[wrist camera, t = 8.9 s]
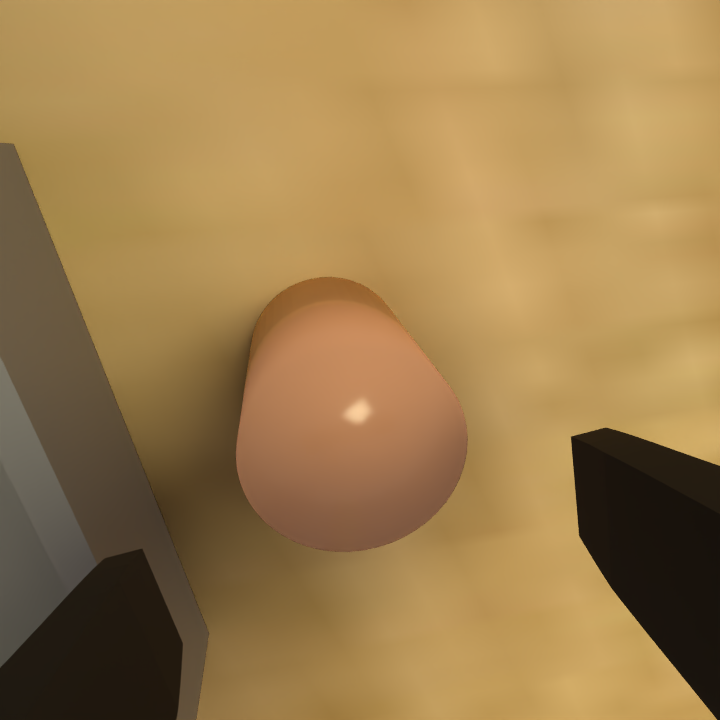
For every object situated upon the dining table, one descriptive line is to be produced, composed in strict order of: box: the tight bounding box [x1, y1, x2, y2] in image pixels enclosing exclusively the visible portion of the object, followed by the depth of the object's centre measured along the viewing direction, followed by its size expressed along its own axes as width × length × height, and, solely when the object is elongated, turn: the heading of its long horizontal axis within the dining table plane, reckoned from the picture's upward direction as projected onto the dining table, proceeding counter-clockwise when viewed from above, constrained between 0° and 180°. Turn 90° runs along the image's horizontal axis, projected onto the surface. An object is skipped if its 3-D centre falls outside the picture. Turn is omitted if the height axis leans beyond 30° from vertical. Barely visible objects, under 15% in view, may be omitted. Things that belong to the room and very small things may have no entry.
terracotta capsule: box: [236, 277, 468, 552], centre depth 15 cm, size 5×5×7 cm
